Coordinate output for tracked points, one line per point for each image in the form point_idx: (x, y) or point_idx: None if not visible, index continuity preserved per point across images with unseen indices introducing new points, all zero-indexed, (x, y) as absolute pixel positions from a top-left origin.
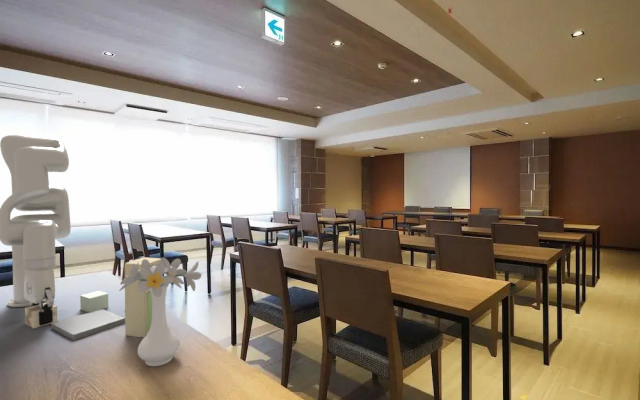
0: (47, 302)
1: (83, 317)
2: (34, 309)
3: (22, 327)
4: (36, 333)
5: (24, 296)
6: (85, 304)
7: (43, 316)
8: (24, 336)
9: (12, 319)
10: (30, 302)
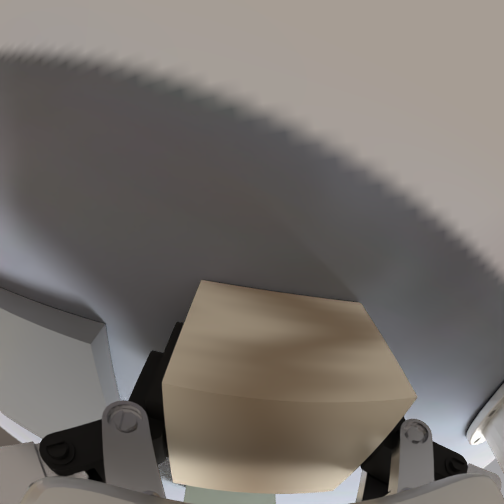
0: (18, 470)
1: (75, 421)
2: (255, 427)
3: (317, 262)
4: (92, 241)
5: (480, 492)
6: (224, 496)
7: (147, 380)
8: (103, 174)
9: (485, 299)
10: (418, 457)
